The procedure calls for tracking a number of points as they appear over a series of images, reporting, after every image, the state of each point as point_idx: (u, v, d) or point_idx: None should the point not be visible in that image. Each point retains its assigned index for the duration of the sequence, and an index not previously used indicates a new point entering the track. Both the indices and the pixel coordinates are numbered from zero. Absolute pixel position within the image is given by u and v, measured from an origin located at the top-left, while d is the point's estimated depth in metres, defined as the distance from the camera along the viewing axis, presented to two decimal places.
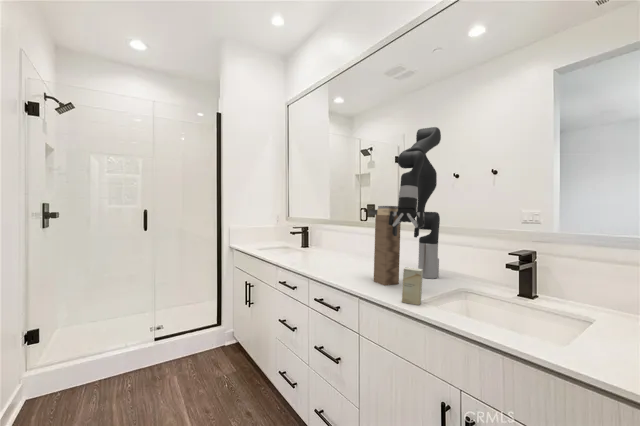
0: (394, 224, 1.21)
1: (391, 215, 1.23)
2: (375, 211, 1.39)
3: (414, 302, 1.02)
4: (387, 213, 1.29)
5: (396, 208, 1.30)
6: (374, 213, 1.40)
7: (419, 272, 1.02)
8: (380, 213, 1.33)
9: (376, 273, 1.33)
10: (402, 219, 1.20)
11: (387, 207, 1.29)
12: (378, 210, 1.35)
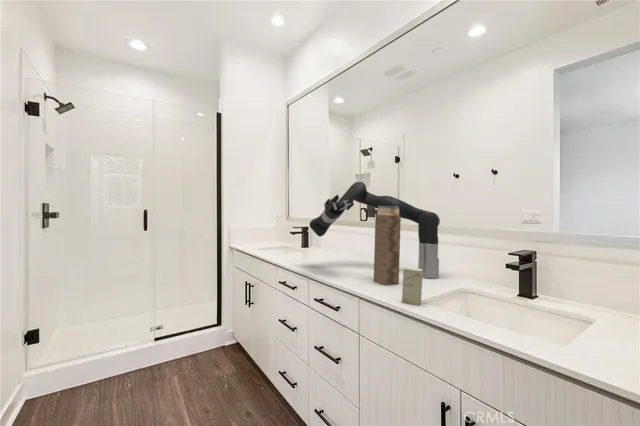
0: (349, 204, 1.43)
1: (348, 208, 1.47)
2: (375, 211, 1.39)
3: (414, 302, 1.02)
4: (387, 213, 1.29)
5: (396, 208, 1.30)
6: (374, 213, 1.40)
7: (419, 272, 1.02)
8: (380, 213, 1.33)
9: (376, 273, 1.33)
10: (341, 206, 1.43)
11: (387, 207, 1.29)
12: (378, 210, 1.35)
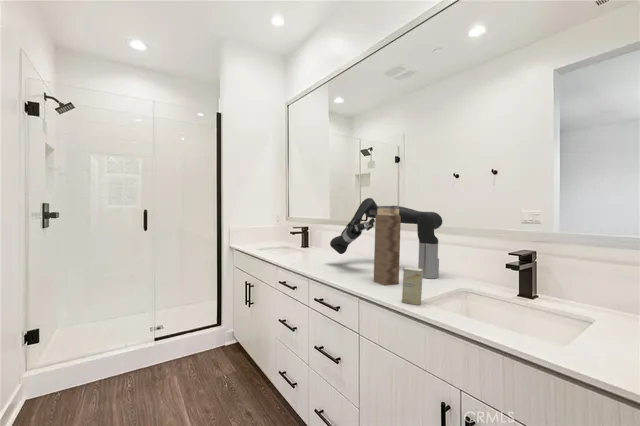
0: (370, 225, 1.53)
1: (368, 229, 1.57)
2: (375, 211, 1.39)
3: (414, 302, 1.02)
4: (387, 213, 1.29)
5: (396, 208, 1.30)
6: (374, 213, 1.40)
7: (419, 272, 1.02)
8: (380, 213, 1.33)
9: (376, 273, 1.33)
10: (362, 227, 1.53)
11: (387, 207, 1.29)
12: (378, 210, 1.35)
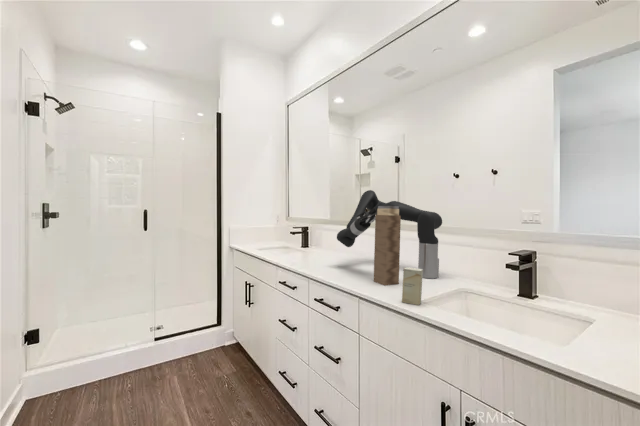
0: None
1: None
2: None
3: (414, 302, 1.02)
4: (387, 213, 1.29)
5: (396, 208, 1.30)
6: (374, 213, 1.40)
7: (419, 272, 1.02)
8: (380, 213, 1.33)
9: (376, 273, 1.33)
10: (370, 219, 1.46)
11: (387, 207, 1.29)
12: (378, 210, 1.35)
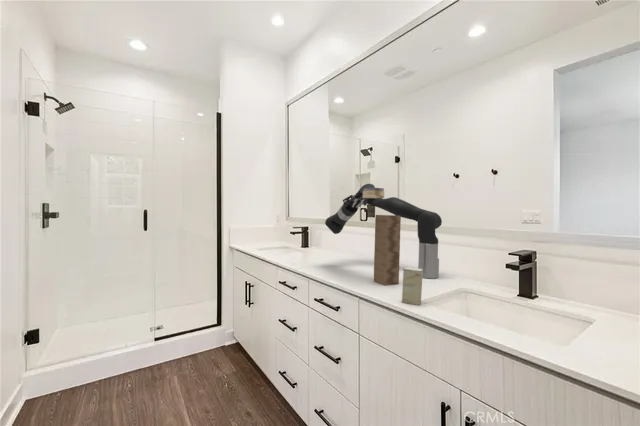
0: (363, 200, 1.41)
1: (365, 203, 1.46)
2: None
3: (414, 302, 1.02)
4: (372, 195, 1.27)
5: (381, 190, 1.28)
6: (360, 196, 1.38)
7: (419, 272, 1.02)
8: (365, 196, 1.31)
9: (376, 273, 1.33)
10: (356, 203, 1.44)
11: (372, 189, 1.27)
12: (363, 193, 1.32)
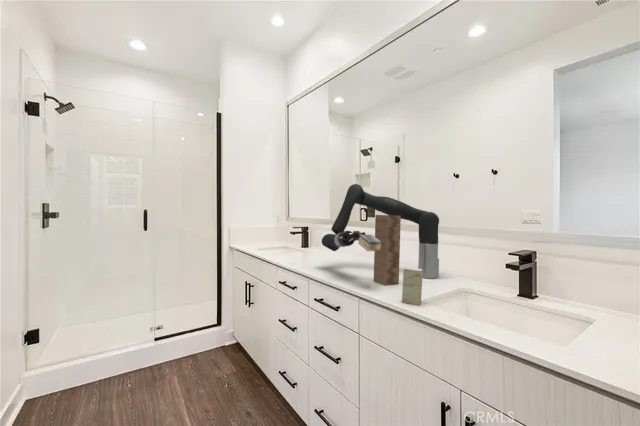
0: None
1: None
2: None
3: (414, 302, 1.02)
4: (367, 249, 1.21)
5: (377, 243, 1.21)
6: (357, 238, 1.32)
7: (419, 272, 1.02)
8: (361, 244, 1.25)
9: (376, 273, 1.33)
10: (353, 239, 1.38)
11: (368, 242, 1.20)
12: (359, 239, 1.26)
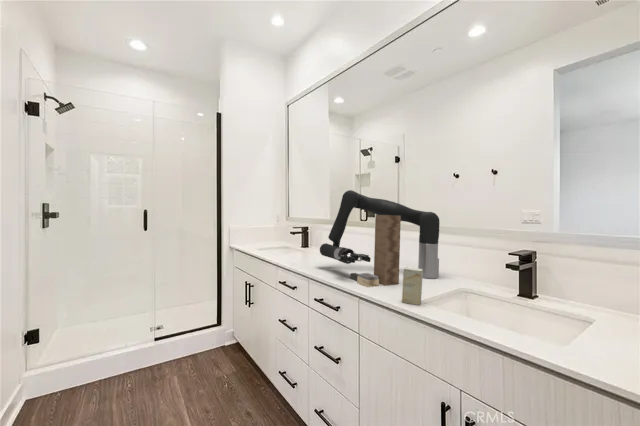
0: (364, 260, 1.40)
1: (362, 259, 1.44)
2: (355, 277, 1.35)
3: (414, 302, 1.02)
4: (366, 285, 1.25)
5: (376, 279, 1.26)
6: (355, 279, 1.36)
7: (419, 272, 1.02)
8: (360, 282, 1.29)
9: (376, 273, 1.33)
10: (356, 260, 1.40)
11: (366, 278, 1.25)
12: (358, 278, 1.31)
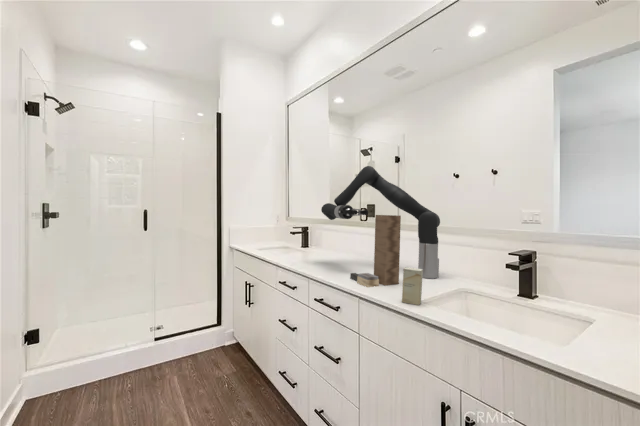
0: (362, 214, 1.51)
1: (361, 214, 1.55)
2: (355, 277, 1.35)
3: (414, 302, 1.02)
4: (366, 285, 1.25)
5: (376, 279, 1.26)
6: (355, 279, 1.36)
7: (419, 272, 1.02)
8: (360, 282, 1.29)
9: (376, 273, 1.33)
10: None
11: (366, 278, 1.25)
12: (358, 278, 1.31)
